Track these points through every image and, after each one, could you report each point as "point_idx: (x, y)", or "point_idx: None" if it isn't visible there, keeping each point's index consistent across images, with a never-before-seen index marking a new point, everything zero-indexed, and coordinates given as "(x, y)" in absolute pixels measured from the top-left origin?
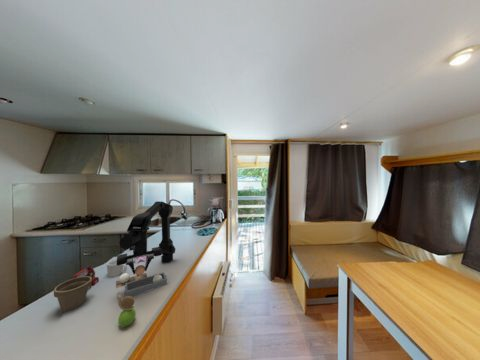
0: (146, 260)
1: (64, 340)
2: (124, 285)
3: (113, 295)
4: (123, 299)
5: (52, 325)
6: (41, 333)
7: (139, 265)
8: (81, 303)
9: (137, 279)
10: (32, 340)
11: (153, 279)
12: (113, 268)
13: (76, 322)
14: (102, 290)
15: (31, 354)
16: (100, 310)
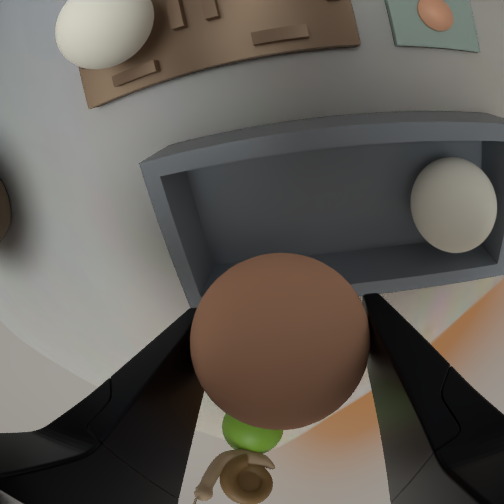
0: (411, 493)
1: (88, 363)
2: (141, 85)
3: (107, 171)
4: (225, 492)
5: (8, 281)
6: (10, 301)
7: (259, 406)
8: (4, 224)
9: (247, 12)
10: (13, 315)
11: (424, 228)
12: None
13: (63, 309)
14: (28, 85)
15: (51, 359)
16: (106, 286)
